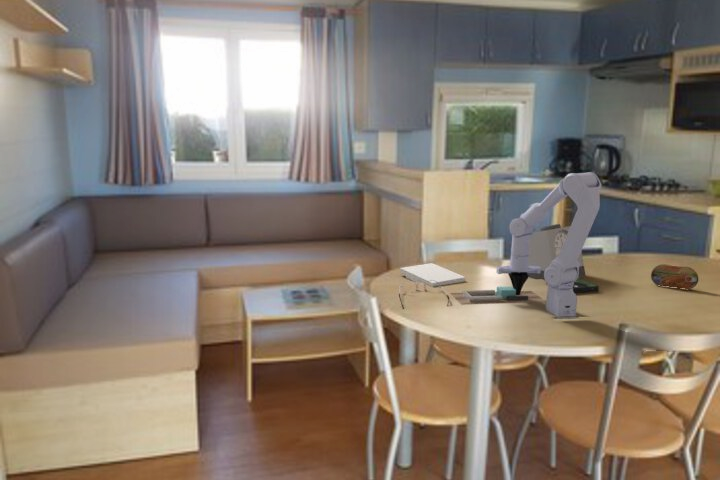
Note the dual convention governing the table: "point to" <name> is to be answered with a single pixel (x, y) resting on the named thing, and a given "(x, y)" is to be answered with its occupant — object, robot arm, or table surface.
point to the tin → (674, 276)
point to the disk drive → (584, 287)
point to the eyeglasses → (424, 289)
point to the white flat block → (431, 274)
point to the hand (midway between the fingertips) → (516, 294)
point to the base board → (531, 298)
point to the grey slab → (472, 298)
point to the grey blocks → (517, 298)
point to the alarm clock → (548, 249)
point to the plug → (505, 292)
